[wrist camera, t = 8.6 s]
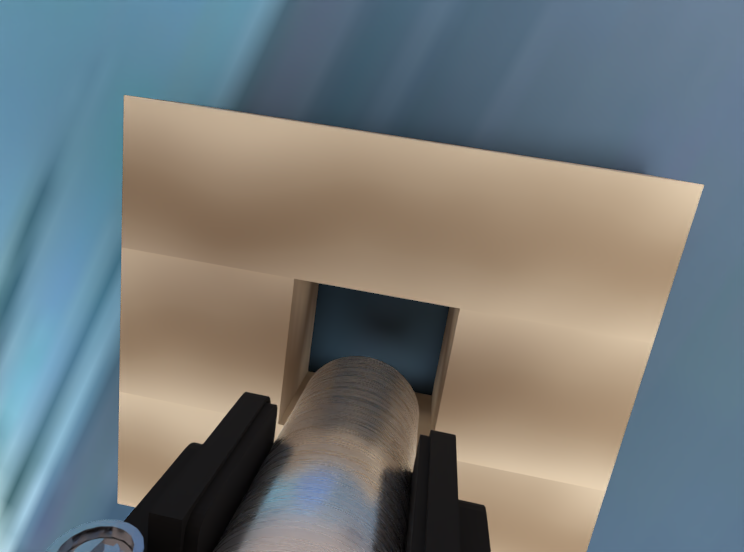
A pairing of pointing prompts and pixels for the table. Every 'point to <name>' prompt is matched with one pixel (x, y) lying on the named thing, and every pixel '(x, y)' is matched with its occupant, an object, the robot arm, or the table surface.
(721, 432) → the table surface
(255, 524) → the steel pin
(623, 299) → the block
